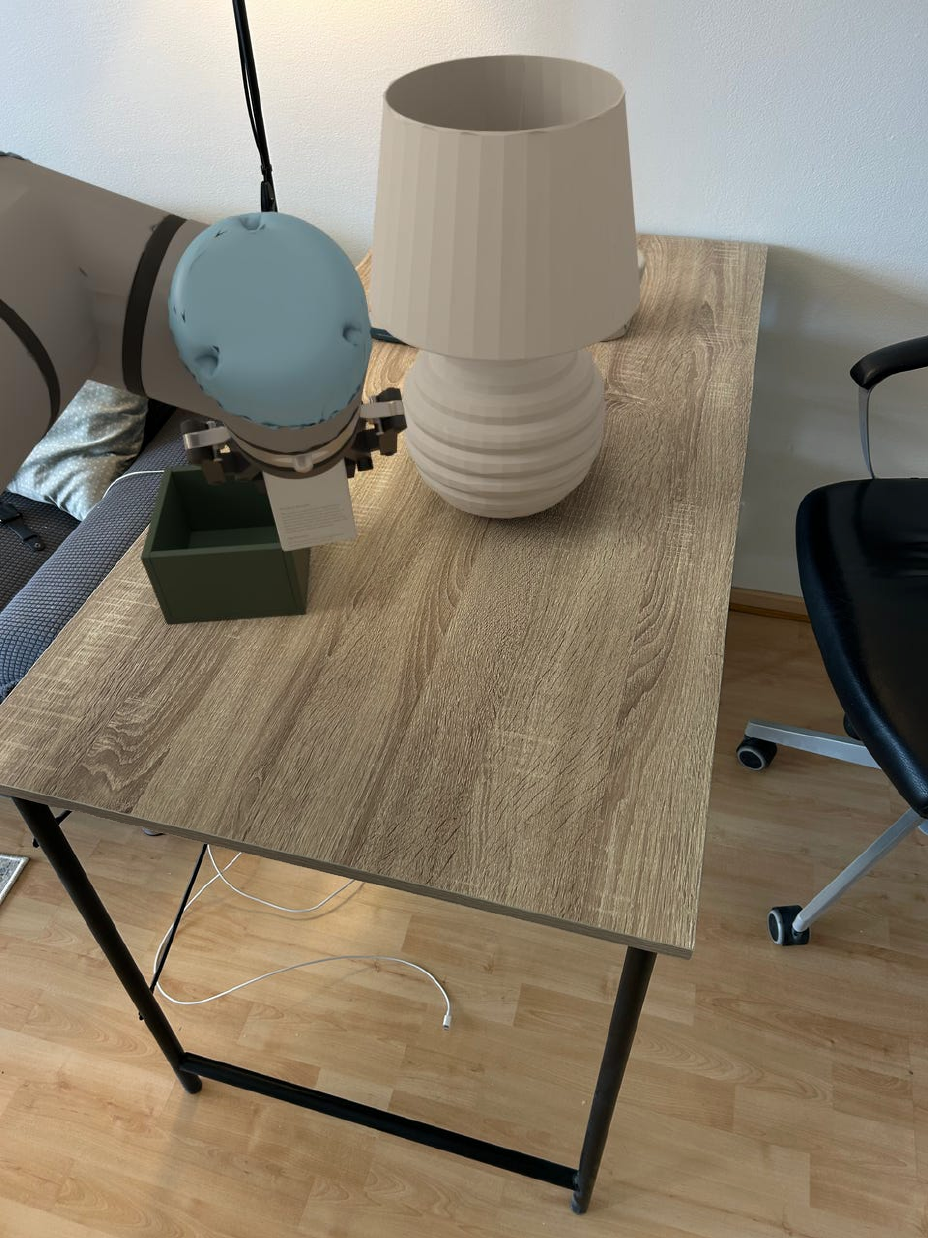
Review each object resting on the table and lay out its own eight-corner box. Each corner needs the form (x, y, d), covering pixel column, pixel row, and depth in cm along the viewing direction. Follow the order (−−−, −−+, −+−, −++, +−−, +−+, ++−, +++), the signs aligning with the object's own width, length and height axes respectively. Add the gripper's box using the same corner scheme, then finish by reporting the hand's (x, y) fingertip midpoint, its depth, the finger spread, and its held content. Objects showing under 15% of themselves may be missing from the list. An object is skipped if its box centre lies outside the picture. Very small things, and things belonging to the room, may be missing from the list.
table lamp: (566, 405, 111) (588, 31, 82) (655, 532, 95) (723, 117, 66) (368, 447, 107) (317, 65, 78) (425, 587, 90) (388, 167, 61)
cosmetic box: (350, 507, 73) (330, 375, 64) (359, 542, 70) (339, 409, 61) (275, 520, 72) (244, 388, 63) (280, 557, 69) (249, 424, 60)
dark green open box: (166, 624, 88) (140, 557, 81) (187, 533, 97) (164, 467, 91) (305, 614, 88) (290, 547, 82) (312, 524, 97) (299, 458, 91)
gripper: (123, 499, 47) (191, 536, 70) (475, 441, 50) (430, 495, 72) (94, 356, 47) (173, 440, 69) (450, 306, 49) (413, 403, 72)
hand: (304, 468), depth 71 cm, fingers closed on cosmetic box, 6 cm apart
